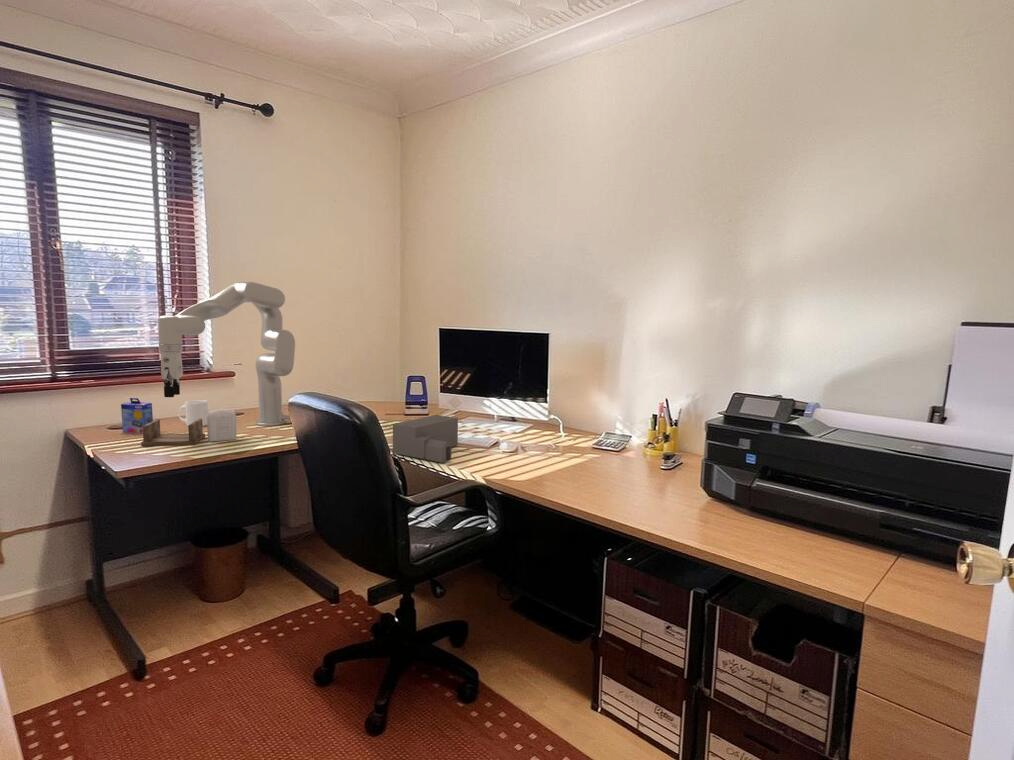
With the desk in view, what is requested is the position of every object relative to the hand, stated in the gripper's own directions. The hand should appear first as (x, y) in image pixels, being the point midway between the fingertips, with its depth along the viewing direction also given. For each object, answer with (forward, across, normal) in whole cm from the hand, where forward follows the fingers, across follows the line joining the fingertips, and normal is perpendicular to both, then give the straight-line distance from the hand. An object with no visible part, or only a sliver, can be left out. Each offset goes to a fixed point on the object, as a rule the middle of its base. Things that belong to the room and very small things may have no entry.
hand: (172, 395), depth 218 cm
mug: (+18, +32, +2) cm, 36 cm away
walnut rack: (+18, 0, 0) cm, 18 cm away
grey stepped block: (+18, -27, -99) cm, 104 cm away
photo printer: (+18, 0, -17) cm, 25 cm away
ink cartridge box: (+18, +19, +19) cm, 32 cm away
